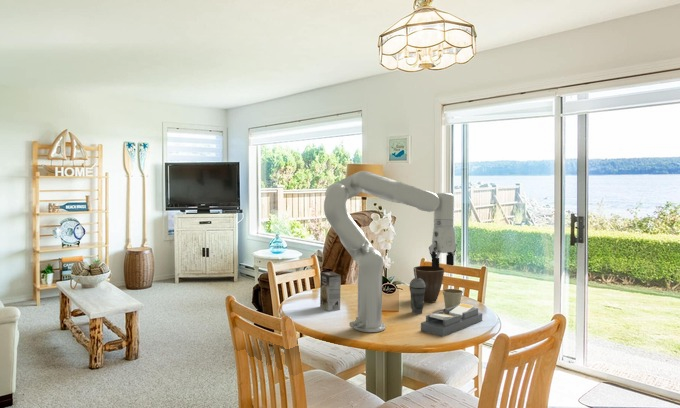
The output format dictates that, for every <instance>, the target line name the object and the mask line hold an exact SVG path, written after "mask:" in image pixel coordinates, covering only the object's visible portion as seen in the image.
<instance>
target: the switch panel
mask: <svg viewBox="0 0 680 408" xmlns="http://www.w3.org/2000/svg"><path fill="white" fill-rule="evenodd" d="M457 306H458V305H457ZM457 306H454V307H451V308H448V309H445V308H444V309H445V310H440V311H437V312H436V311H435V312H434V313H432V314H447V315H449V312H450V311H451V310H453V309H454V308H455V307H457ZM474 308H475V309H472V310H469V311H466V312H464V313H462V318H461V315H459V314H458V315H455V316H453V317H450V318H447V319H444V320H441V319H437V318H433V317H430V314H428V315H425V321H422V322H421V323H420V331H421V332H424V333H429V334H433V335H436V336H440V337H445V336H447V335H450V334H453V333H455V332H457V331H460V330H462V329H464V328H467V327H470V326H472V325H474V324H477V323H479V322H482V321H483V313H482V312H479V308H478V307H474ZM444 312H445V313H444ZM451 316H452V315H451Z"/></svg>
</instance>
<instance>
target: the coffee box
mask: <svg viewBox="0 0 680 408" xmlns="http://www.w3.org/2000/svg"><path fill="white" fill-rule="evenodd" d="M319 273H320V275H319V277H320V280H319V281H320V287H319V288H320V290H319V291H320V292H319V293H320V297H319V301H320V302H319V307H320V308H322V309H324V310H326V311H327V312H333V311H340V310H341V287H342V286H341V282H342V281H341V279H342V276H341V274H339V273H336V272H333V271H322V272H319Z"/></svg>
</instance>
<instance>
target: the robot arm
mask: <svg viewBox="0 0 680 408" xmlns="http://www.w3.org/2000/svg"><path fill="white" fill-rule="evenodd" d="M362 193H363V194H366V195H370V196H371V197H375V198H379V199H382V200H384V201H387V202H391V203H395V204H402V205H406V206H409V207H413V208H416V209H417V210H419V211H422V212H428V213H431V212H434V213H433V216H434V217H433V231H432V238H431V239H432V240H431V244H430V245H429V246H428V251H429V254H430V258H431V266H432V267H433V268H439V267H440V258H439V256H440V255H441V254H446V259H445V260H446V265H447V266H454V265H455V255H456V251H457V250H456V249H457V246H458V244H457V243H456V232H455V231H456V230H455V227H454V213H455V212H454V211H455V209H454V207H455V206H454V205H455V201H454V200H455V198H454V194H453V193H451V192H438V193H434V192H432V191H429V190H426V189H423V188H420V187H416V186H414V185H410V184H407V183H403V182H401V181H399V180H395V179H392V178H389V177H386V176H382V175H380V174H377V173H373V172H371V171H369V170H368V171H367V170H360V171H357V172H355V173H352V174H351V175H349V176H346V177H344V178H342V179H341V180H337V181H336V182H334V183H331V184H330V185H328V186H327V188H326V190H325V198H324V202H323V210H324V211H323V212H324V215H325V218H326V220H327V222H328V223H329V225H330V226H331V228H332V229H333V231H334V232H335V234H336V235H337V236H338V237H339V241H340V243H341V244H342V246H343V247H344V248H345V250H346V251H347V253H348V254H349V255H350V256H351V258H352V259H353V261H354V262H355V263H356V264H357V265H358V272H357V317H355V320H354V321H350V322H349V323H348V325H349V327H350V328H353V329H354V330H356V331H359V332H362V333H363V332H364V333H377V332H383V331H385V330H386V324H385V323H384V322H382V321H383V320H382V315H383V313H382V312H383V309H382V307H383V305H382V303H383V273H384V272H383V270H384V258H383V255H382V253H381V252H380V251H379V250H378V249H376V248H375V247H374V246H373V245H372V244H371V243H370V241H369V240H368V238H367V237H366V235H365V233H364V230H363V229H361V227H360V226H359V225H358V223H356V221H355V220H354V218H353V217H352V216H351V214H350V212H349V211H348V209H347V201H348V200H349V199H352V198H354V197H356V196H358V195H360V194H362Z"/></svg>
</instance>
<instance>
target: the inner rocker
mask: <svg viewBox="0 0 680 408" xmlns="http://www.w3.org/2000/svg"><path fill="white" fill-rule="evenodd" d="M429 315H430V317H433V318H437V319H441V320H444V319H447V318H450V317H453V316H451V315H447V314H445V313H444V314H433V313H430V314H429Z"/></svg>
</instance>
